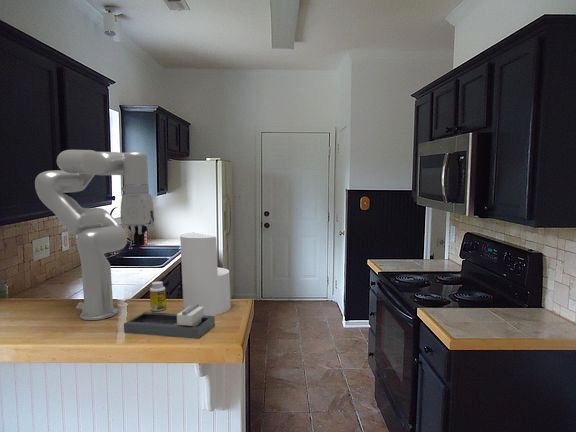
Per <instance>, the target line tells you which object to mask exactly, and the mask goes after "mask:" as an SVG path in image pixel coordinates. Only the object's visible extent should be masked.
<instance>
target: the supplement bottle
mask: <svg viewBox="0 0 576 432" xmlns="http://www.w3.org/2000/svg"><path fill="white" fill-rule="evenodd" d="M166 295H167V294H166V287H165V286H164V282H163V281H152V282H151V287H150V288H149V298H150V299H149V301H150V310H151V312H160V311H164V310H166V308H167V302H166V301H167V299H166Z"/></svg>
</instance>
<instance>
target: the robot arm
mask: <svg viewBox="0 0 576 432" xmlns="http://www.w3.org/2000/svg"><path fill="white" fill-rule="evenodd" d="M56 165H57V167H58V168H59V169H60V170H58V169H57V170H55V169H54V170H46V171H43V172H40V173H39V174H37V176H36V177H35V180H34V188H35V192H36V194H37V196H38V198H39V200H40V201H41V202H42V204H43V205H44V206H45V207H47V208H48V210H50V211H51V212H52V213H53V214H54V215H55V216H56V217H57V219H58V221H60V223H62V225H63V226H64V227H65V228H66V229H67V231H69V233H70V234H72V235H74V236H77V237H76V247H77V251H78V254H79V255H78V256H79V259H80V265H81V276H82V289H83V290H82V291H83V292H82V294H83V302H82V301H79V302H78V303H77V305H76V307H75V308H76V309H77V310H81V312H80V314H79V317H80V319H81V320H84V321H98V320H104V319H109V318H113V317H114V316H117V314H118V313H119V309H118V308H117V307H115V306H114V300H113V297H114V296H113V282H112V269H111V263H110V262H109V260H108V259H107V258H106V256H105V254H108V253H113V252H119V251H121V250H123V249H124V248H125V247H126V246H127V243H128V237H127V234H126V231H125V229H127V230H129V231H130V232H131V234H132V235H133V244H134V247H142V246H145V242H146V240H145V234H146V233H147V231H148V230H149V229H153V228H155V225H154V222H155V211H154V202H153V198H152V195H151V194H150V187H149V186H150V185H149V168H148V166H149V165H148V156H147V154H146V153H145V152H141V151H136V152H135V151H130V152H129V151H128V152H118V151H96V150H92V149H66V150H63V151H61V152H60V153H59V154H58V155H57V157H56ZM95 176H123V184H124V185H123V186H122V187H121V191H123V192H124V194H122V196H121V200H120V223H121V225H123V227H122V226H121V225H120V224H119V222H118V221H117V220H116V219H115V218H114V217H113V216H112V214H111V213H109V211H107V210H106V209H104V208H101V207H92V208H91V207H87V208H84V207H82V206H81V205H80V204H79V203H78V202H77V201H76V200H75V199H74V198H73V197H71V196H69V195H68V193H79V192H81V191H84V190H85V189H86V188H87V187H88V185H89V183H90V182H91V181H92V179H93V178H95ZM66 193H67V194H66Z"/></svg>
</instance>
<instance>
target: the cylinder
mask: <svg viewBox="0 0 576 432" xmlns="http://www.w3.org/2000/svg"><path fill="white" fill-rule="evenodd" d="M179 240H180V241H179V242H180V256H181V257H180V258H181V260H180V261H181V278H182V279H181V281H182V299H183V300H182V303H183V310H185V309H186V308H188V307H189V306H192V305H194V304H195V303H197V304H199V307H204V316H211V315H212V316H217V315H220V314H224V313H226V312H228V311H230V309H231V307H232V306H231V305H232V304H231V282H230V280H231V279H230V276H231V275H230V270H229V269H227V268H224V267H218V251H217V250H218V247H217V246H218V245H217V236H215V235H214V236H213V235H209V234H208V235H207V234H203V233H198V232H187V233H184V234H180V237H179ZM223 312H224V313H223Z"/></svg>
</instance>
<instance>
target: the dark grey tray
mask: <svg viewBox="0 0 576 432" xmlns="http://www.w3.org/2000/svg"><path fill="white" fill-rule="evenodd" d="M177 314H178V313H169V312H157V311H150V312H149V311H144V312H142V313H140V314H139V315H137V316H135V317H133V318H131V319H130V320H127V321H126V322H124V323H123V332H124V333H126V334H137V335H147V336H161V337H162V336H163V337H174V338H187V339H188V338H189V339H200V338H201V337H203V336H204V335H205V334H206V333H207V332H208V331H210V330H211V329H212V328H213V327H214V326H215V325H216V324H215V323H216V321H215V320H216V319H215V315H212V316H204V317H203V318H202V322H201V323H199V324H198V325H197V326H184V325H177Z"/></svg>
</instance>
